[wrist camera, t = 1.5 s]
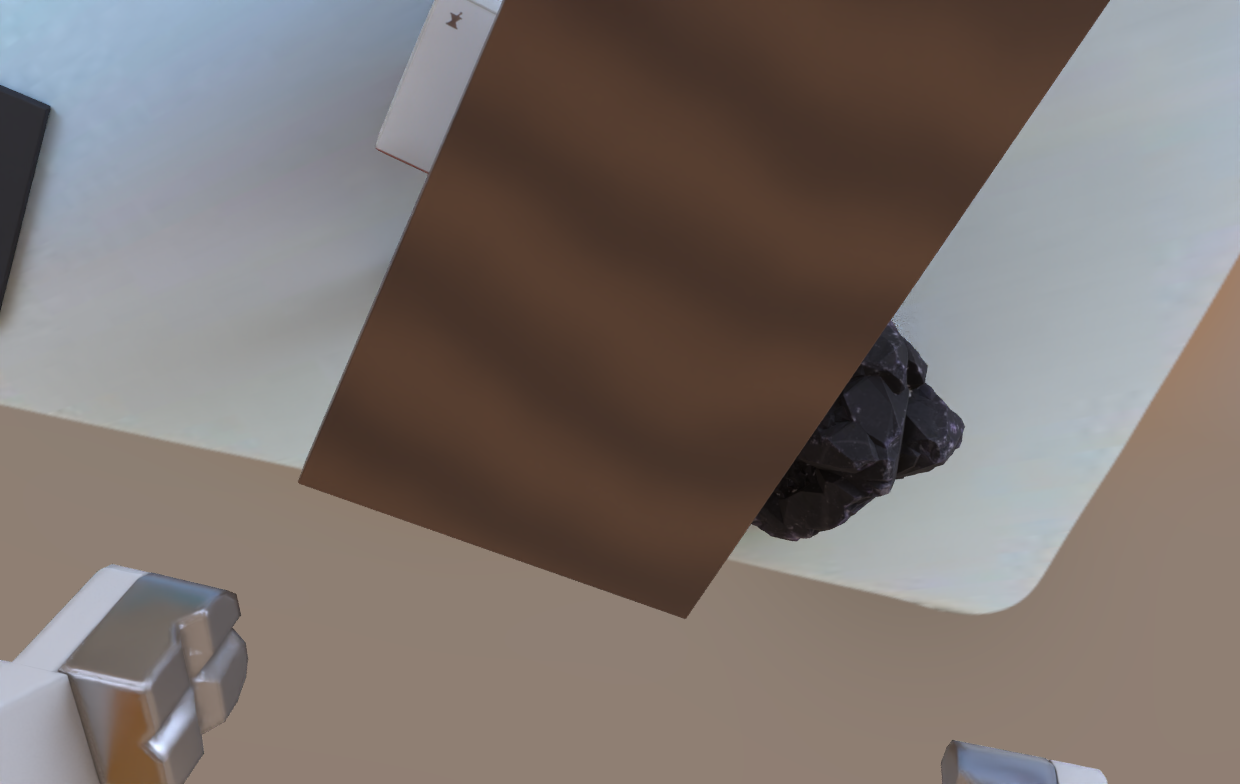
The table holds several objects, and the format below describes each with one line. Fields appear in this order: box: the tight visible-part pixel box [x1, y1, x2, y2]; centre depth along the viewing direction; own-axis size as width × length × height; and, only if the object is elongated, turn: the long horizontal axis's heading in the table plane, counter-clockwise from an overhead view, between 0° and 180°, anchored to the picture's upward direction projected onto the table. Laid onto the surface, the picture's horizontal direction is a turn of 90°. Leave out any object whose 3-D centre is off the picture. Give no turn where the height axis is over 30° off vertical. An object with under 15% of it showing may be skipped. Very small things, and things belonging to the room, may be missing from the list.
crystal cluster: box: [751, 320, 965, 541], centre depth 55 cm, size 13×14×10 cm
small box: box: [375, 0, 502, 174], centre depth 43 cm, size 8×6×13 cm
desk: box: [298, 0, 1110, 619], centre depth 42 cm, size 28×16×18 cm, turn 153°
